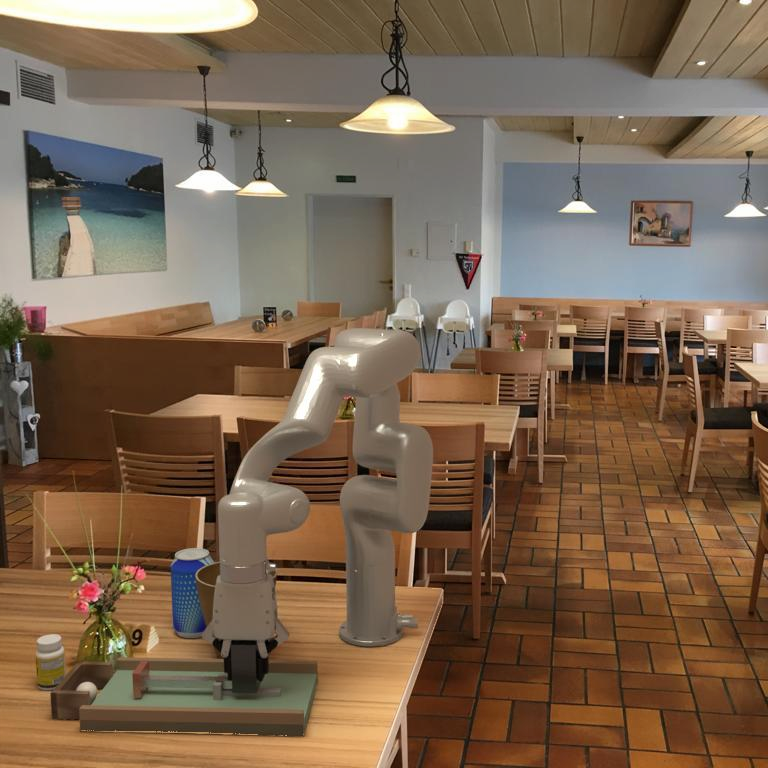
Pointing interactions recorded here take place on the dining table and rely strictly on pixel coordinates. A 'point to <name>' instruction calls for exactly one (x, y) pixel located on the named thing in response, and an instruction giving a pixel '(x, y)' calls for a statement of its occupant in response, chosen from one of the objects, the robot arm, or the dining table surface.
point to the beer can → (187, 592)
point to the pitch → (205, 700)
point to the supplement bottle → (50, 661)
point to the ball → (88, 689)
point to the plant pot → (211, 590)
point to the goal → (65, 693)
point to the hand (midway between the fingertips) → (246, 676)
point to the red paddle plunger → (242, 676)
